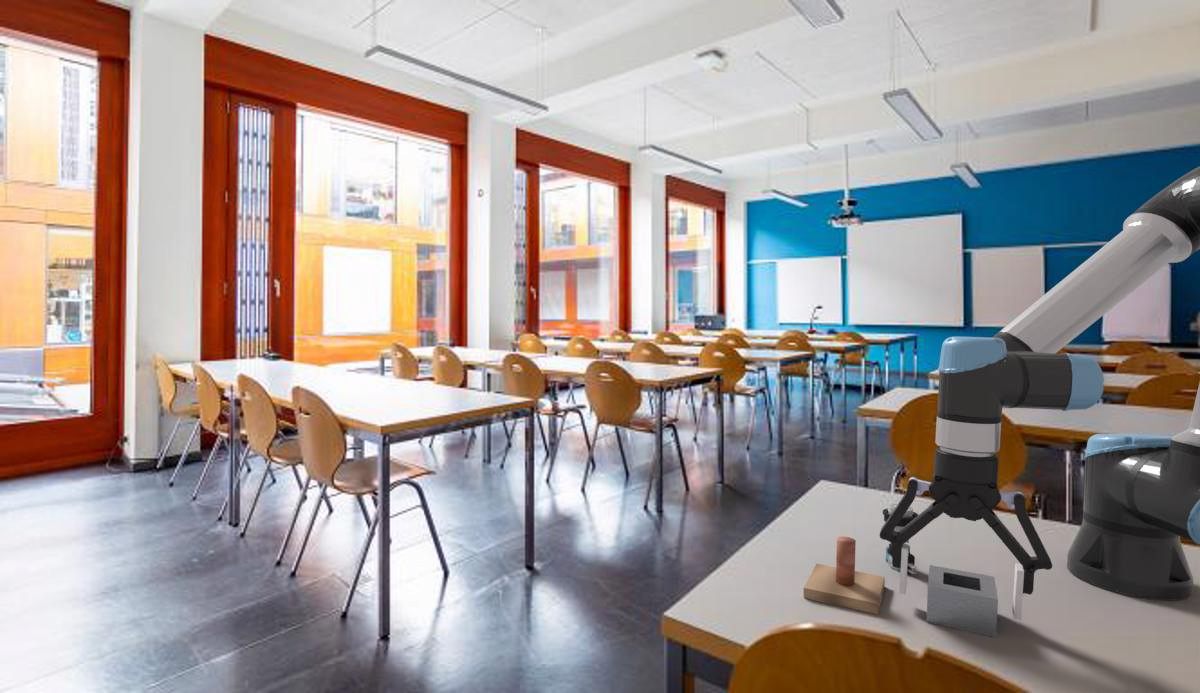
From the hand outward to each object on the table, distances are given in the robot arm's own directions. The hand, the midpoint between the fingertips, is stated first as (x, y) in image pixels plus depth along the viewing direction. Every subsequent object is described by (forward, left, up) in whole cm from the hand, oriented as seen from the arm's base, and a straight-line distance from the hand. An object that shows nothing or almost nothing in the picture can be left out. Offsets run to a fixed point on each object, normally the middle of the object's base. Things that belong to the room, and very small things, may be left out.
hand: (957, 602), depth 86 cm
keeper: (+15, 0, -2) cm, 15 cm away
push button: (+8, -14, -2) cm, 16 cm away
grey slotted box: (0, 0, -2) cm, 2 cm away
